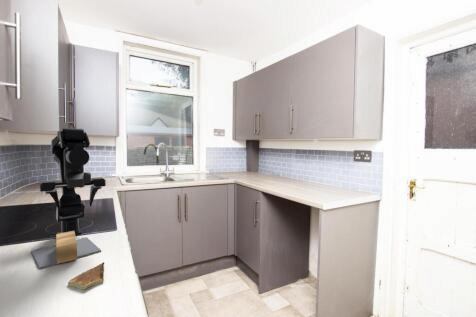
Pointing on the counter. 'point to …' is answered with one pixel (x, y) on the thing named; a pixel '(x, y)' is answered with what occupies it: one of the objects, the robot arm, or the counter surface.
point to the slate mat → (49, 254)
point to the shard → (89, 278)
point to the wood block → (66, 247)
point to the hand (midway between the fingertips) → (75, 208)
